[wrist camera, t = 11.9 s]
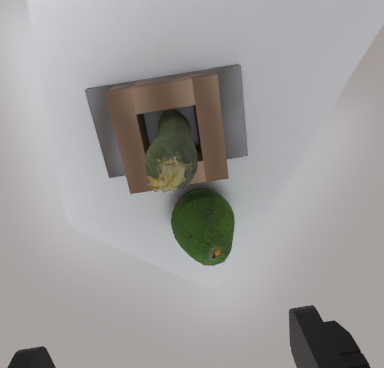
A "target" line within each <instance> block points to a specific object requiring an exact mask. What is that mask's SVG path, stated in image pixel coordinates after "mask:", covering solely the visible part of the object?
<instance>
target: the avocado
mask: <svg viewBox="0 0 384 368" xmlns="http://www.w3.org/2000/svg"><path fill="white" fill-rule="evenodd" d="M171 224H172V230H173V233H174V236H175V239H176V240H177V242H178V243H179V244H180V246H181V247H182V248H183V249H184V250H185V251H186V252H187V253H188V254H189V255H190V256H191V257H192V258H193V259H195V260H196V261H198V262H200V263H201V264H203V265H213V266H214V265H216V264H219V263H222V262H224V261H225V260H226V258H227V257H228V255H229V253H230V251H231V247H232V240H233V232H234V214H233V211H232V208H231V206H230V205H229V203H228V202H227V201H226V200H225V199H224V198H223V197H222V196H221V195H220V194H218V193H216V192H213V191H211V190H209V189H197V190H194V191H190V192H188V193H186V194H185V195H184V196H183V197H181V198H180V200H179V201H178V203H177V204H176V206H175V208H174V210H173V213H172V218H171Z"/></svg>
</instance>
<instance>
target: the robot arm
mask: <svg viewBox="0 0 384 368" xmlns="http://www.w3.org/2000/svg"><path fill="white" fill-rule="evenodd" d="M289 326H290V346H291V351H292V355H293V358H294V361H295V364H296V366H297V368H370V366H369V363H368V362H367V360H366V358H365V357H364V355H363V354H362V353H361V351H360V349H359V347H358V345H357V344H356V342H355V341H354V339H353V338H352V336H351V334H350V333H349V332H348V331H347V330H345V329H344V328H343V327H342V326H341V325H340V324H338V323H337V322H336V321H329V322H323V320H322V319H321V317H320V315H319V313H318V311H317V310H316V308H315V307H314V306H313V305H311V306H305V307H298V308H292V309H290V310H289ZM8 368H55V365H54V364H53V361H52V359H51V357H50V356H49V353H48V351H47V349H46V348H45V347H36V348H30V349H23V350H19V351H17V352H16V353H15V355H14V356H13V358H12V360H11V362H10V364H9V366H8Z"/></svg>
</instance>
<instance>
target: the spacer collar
mask: <svg viewBox="0 0 384 368" xmlns="http://www.w3.org/2000/svg"><path fill="white" fill-rule="evenodd" d="M85 93H86V96H87V100H88V103H89V107H90V110H91V114H92V118H93V121H94V125H95V128H96V132H97V135H98V139H99V143H100V146H101V150H102V153H103V157H104V161H105V164H106V168H107V171H108V175H109V178H111V177H118V176H124V175H126V178H127V181H128V185H129V189H130V193H131V194H133V193H139V192H146V191H152V190H153V189H152V188H151V187H150V186H149V185H147V184H150V179H148V176H147V173H146V168H145V155H146V152H147V150H148V149H149V147H150V146H151V144H152V143H153V142H154V141H155V139H156V138H157V137H158V122H159V120H160V118H161V117H162V115H163V114H164V113H165V112H167V111H168V109H172V110H174V111H178V112H180V113H181V114H182V115H184V116H185V117H186V118H187V120H188V122H189V124H190V127H191V133H192V138H193V143H194V145H195V148H196V151H197V162H198V165H197V171H196V173H195V175H194V177H193V179H192V180H191V181H190V183H189V184H188V185H190V184H196V183H202V182H208V181H215V180H221V179H227V178H228V169H227V160H226V159H231V158H237V157H243V156H248V153H247V140H246V127H245V114H244V101H243V88H242V75H241V65H232V66H226V67H219V68H213V69H207V70H201V71H195V72H188V73H182V74H176V75H170V76H163V77H157V78H151V79H145V80H139V81H132V82H126V83H120V84H114V85H107V86H101V87H95V88H89V89H86V90H85Z"/></svg>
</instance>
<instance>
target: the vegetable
mask: <svg viewBox="0 0 384 368" xmlns="http://www.w3.org/2000/svg"><path fill="white" fill-rule="evenodd" d="M197 165H198V162H197V151H196V148H195V145H194V143H193V138H192V133H191V127H190V124H189V122H188V120H187V118H186V117H185V116H184V115H182V114H181V113H180V112H178V111H174V110H172V109H168V111H167V112H165V113H164V114H163V115H162V117H161V118H160V120H159V122H158V137H157V138H156V139H155V141H154V142H153V143H152V144H151V146H150V147H149V149H148V150H147V152H146V155H145V168H146V173H147V176H148V179H150V184H147V185H149V186H150V187H151V188H152V189H153V191H154V192H156V191H158V190H160V189H162V191H163V192H166V191H167V190H174V191H175V192H176V190H177V189H180V188H183V187H185V186H187V185H188V184H189V183H190V181H191V180H192V179H193V177H194V175H195V173H196V171H197Z"/></svg>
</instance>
